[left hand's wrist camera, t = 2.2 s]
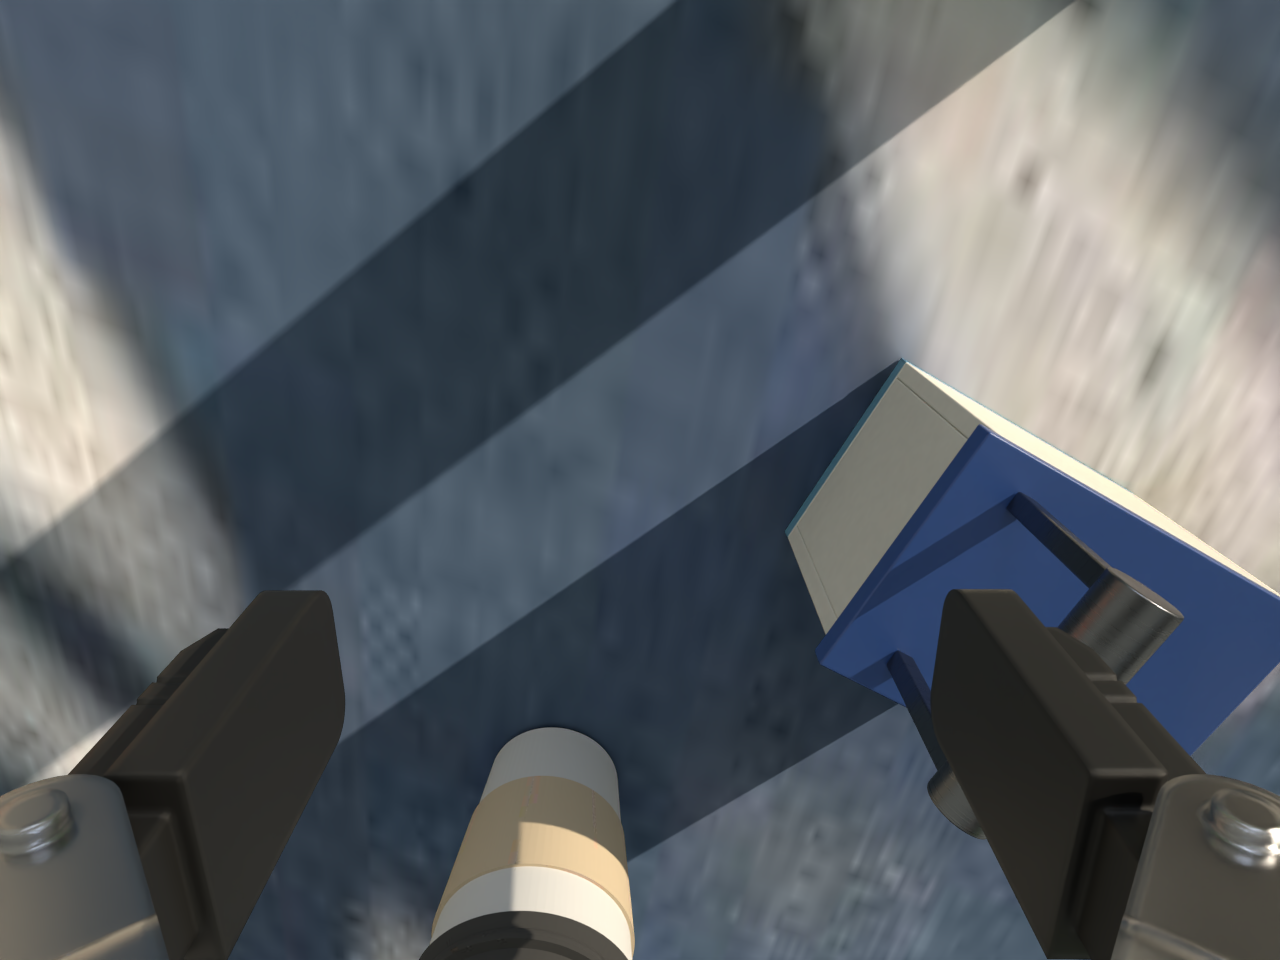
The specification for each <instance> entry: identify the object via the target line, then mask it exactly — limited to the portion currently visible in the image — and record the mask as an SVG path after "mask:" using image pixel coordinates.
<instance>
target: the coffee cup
mask: <svg viewBox="0 0 1280 960" xmlns="http://www.w3.org/2000/svg"><path fill="white" fill-rule="evenodd" d="M431 937H432V939H431V942H430V944H429V947H428V948H427V949H426V950H425V951H424V953H423V954H422V956H421V957H420V959H419V960H632V957H633V953H634V944H635V940H634V929H633V919H632V909H631V899H630V888H629V878H628V868H627V858H626V848H625V838H624V831H623V827H622V824H621V816H620V803H619V791H618V779H617V773H616V769H615V766H614V764H613V761H612V760H611V758H610V756H609V755H608V754H607V752H606V751H605V750H604V749H603V748H602V747H601V746H600V745H599V744H598V743H597V742H595V741H594V740H592V739H591V738H589V737H587V736H585V735H583V734H581V733H579V732H576V731H573V730H569V729H564V728H554V727H549V728H539V729H534V730H530V731H527V732H525V733H522V734H520V735H518V736H516V737H515V738H513V739H512V740H510V741H509V742H508V743H507V744H506V745H505V746H504V747H503V748H502V749H501V750H500V752H499V753H498V755H497V756H496V758H495V761H494V763H493V766H492V769H491V772H490V774H489V777H488V780H487V783H486V786H485V789H484V791H483V794H482V797H481V800H480V803H479V805H478V806H477V807H476V809H475V811H474V813H473V815H472V817H471V820H470V823H469V825H468V828H467V831H466V834H465V836H464V839H463V842H462V844H461V847H460V850H459V853H458V855H457V858H456V861H455V863H454V866H453V869H452V872H451V874H450V877H449V880H448V882H447V885H446V888H445V891H444V893H443V896H442V899H441V901H440V904H439V907H438V910H437V912H436V915H435V918H434V921H433V925H432V935H431Z"/></svg>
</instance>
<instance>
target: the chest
mask: <svg viewBox="0 0 1280 960" xmlns="http://www.w3.org/2000/svg"><path fill="white" fill-rule="evenodd" d="M979 424H982V425H983V426H985V427H987V428H989V429H990V430H992V431H994V432H995V433H997V434H999V435H1001V436H1002V437H1004V438H1006V439H1008V440H1009V441H1011V442H1013V443H1015V444H1016V445H1018V446H1020V447H1021V448H1023V449H1025V450H1027V451H1028V452H1030V453H1032V454H1034V455H1035V456H1037V457H1039V458H1040V459H1042V460H1044V461H1046V462H1047V463H1049V464H1051V465H1053V466H1054V467H1056V468H1058V469H1060V470H1061V471H1063V472H1065V473H1066V474H1068V475H1070V476H1072V477H1073V478H1075V479H1077V480H1079V481H1080V482H1082V483H1084V484H1086V485H1087V486H1089V487H1091V488H1092V489H1094V490H1096V491H1098V492H1099V493H1101V494H1103V495H1105V496H1106V497H1108V498H1110V499H1112V500H1113V501H1115V502H1117V503H1118V504H1120V505H1122V506H1124V507H1125V508H1127V509H1129V510H1131V511H1132V512H1134V513H1136V514H1138V515H1139V516H1141V517H1143V518H1144V519H1146V520H1148V521H1150V522H1151V523H1153V524H1155V525H1157V526H1158V527H1160V528H1162V529H1164V530H1165V531H1167V532H1169V533H1170V534H1172V535H1174V536H1176V537H1177V538H1179V539H1181V540H1183V541H1184V542H1186V543H1188V544H1190V545H1191V546H1193V547H1195V548H1196V549H1198V550H1200V551H1202V552H1203V553H1205V554H1207V555H1209V556H1210V557H1212V558H1214V559H1215V560H1217V561H1219V562H1221V563H1222V564H1224V565H1226V566H1228V567H1229V568H1231V569H1233V570H1235V571H1236V572H1238V573H1240V574H1241V575H1243V576H1245V577H1247V578H1248V579H1250V580H1252V581H1254V582H1255V583H1257V584H1259V585H1261V586H1262V587H1264V588H1266V589H1267V590H1269V591H1271V592H1273V593H1274V594H1276V595H1278V596H1280V594H1278V593H1277V592H1275V591H1274V590H1273V589H1271V588H1270V587H1268V586H1267V585H1265V584H1264V583H1262V582H1261V581H1259V580H1258V579H1257V578H1255V577H1254V576H1252V575H1251V574H1249V573H1248V572H1246V571H1245V570H1243V569H1242V568H1241V567H1239V566H1238V565H1236V564H1235V563H1233V562H1232V561H1230V560H1229V559H1227V558H1226V557H1225V556H1223V555H1222V554H1220V553H1219V552H1217V551H1216V550H1214V549H1213V548H1211V547H1210V546H1208V545H1207V544H1206V543H1204V542H1203V541H1201V540H1200V539H1198V538H1197V537H1195V536H1194V535H1192V534H1191V533H1190V532H1188V531H1187V530H1185V529H1184V528H1182V527H1181V526H1179V525H1178V524H1176V523H1175V522H1174V521H1172V520H1171V519H1169V518H1168V517H1166V516H1165V515H1163V514H1162V513H1160V512H1159V511H1158V510H1156V509H1155V508H1153V507H1152V506H1150V505H1149V504H1147V503H1146V502H1144V501H1143V500H1141V499H1140V498H1139V497H1137V496H1136V495H1135V494H1133V493H1132V492H1130V491H1129V490H1127V489H1126V488H1124V487H1122V486H1121V485H1119V484H1117V483H1115V482H1114V481H1112V480H1110V479H1109V478H1107V477H1105V476H1103V475H1102V474H1100V473H1098V472H1097V471H1095V470H1093V469H1091V468H1090V467H1088V466H1086V465H1085V464H1083V463H1081V462H1079V461H1078V460H1076V459H1074V458H1073V457H1071V456H1069V455H1067V454H1066V453H1064V452H1062V451H1060V450H1059V449H1057V448H1055V447H1054V446H1052V445H1050V444H1048V443H1047V442H1045V441H1043V440H1042V439H1040V438H1038V437H1036V436H1035V435H1033V434H1031V433H1030V432H1028V431H1026V430H1024V429H1023V428H1021V427H1019V426H1018V425H1016V424H1014V423H1012V422H1011V421H1009V420H1007V419H1006V418H1004V417H1002V416H1000V415H999V414H997V413H995V412H993V411H992V410H990V409H988V408H987V407H985V406H983V405H981V404H980V403H978V402H976V401H975V400H973V399H971V398H969V397H968V396H966V395H964V394H963V393H961V392H959V391H957V390H956V389H954V388H952V387H951V386H949V385H947V384H945V383H944V382H942V381H940V380H939V379H937V378H935V377H933V376H932V375H930V374H928V373H926V372H925V371H923V370H921V369H920V368H918V367H916V366H914V365H913V364H911V363H909V362H908V361H906V360H904V359H902V358H901V359H900V361H899V362H898V364H897V365H896V367H895V368H894V370H893V371H892V373H891V374H890V376H889V377H888V379H887V380H886V382H885V383H884V384H883V386H882V387H881V389H880V390H879V392H878V393H877V395H876V396H875V398H874V399H873V401H872V402H871V404H870V405H869V407H868V408H867V410H866V411H865V413H864V414H863V416H862V417H861V419H860V420H859V422H858V423H857V425H856V426H855V428H854V429H853V431H852V432H851V433H850V435H849V436H848V438H847V439H846V441H845V442H844V444H843V445H842V447H841V448H840V450H839V451H838V453H837V454H836V456H835V457H834V459H833V460H832V462H831V463H830V465H829V466H828V468H827V469H826V471H825V472H824V474H823V475H822V477H821V478H820V480H819V481H818V483H817V484H816V485H815V487H814V488H813V490H812V491H811V493H810V494H809V496H808V497H807V499H806V500H805V502H804V503H803V505H802V506H801V508H800V509H799V511H798V512H797V514H796V515H795V517H794V518H793V520H792V521H791V523H790V524H789V526H788V527H787V529H786V530H785V534H786V536H787V538H788V539H789V542H790V544H791V547H792V550H793V552H794V555H795V557H796V560H797V562H798V565H799V568H800V570H801V573H802V575H803V578H804V580H805V583H806V585H807V588H808V591H809V593H810V596H811V598H812V601H813V603H814V606H815V608H816V611H817V614H818V616H819V619H820V621H821V624H822V626H823V629H824V631H825V634H827V632H828V631H829V630H830V628H831V627H832V626H833V624H834V623H835V621H836V620H837V619H838V617H839V616H840V615H841V613H842V612H843V610H844V609H845V608H846V606H847V605H848V603H849V602H850V601H851V599H852V598H853V597H854V595H855V594H856V592H857V591H858V590H859V588H860V587H861V586H862V584H863V583H864V581H865V580H866V579H867V577H868V576H869V575H870V573H871V572H872V570H873V569H874V568H875V566H876V565H877V564H878V562H879V561H880V559H881V558H882V557H883V555H884V554H885V553H886V551H887V550H888V548H889V547H890V546H891V544H892V543H893V541H894V540H895V539H896V537H897V536H898V535H899V533H900V532H901V530H902V529H903V528H904V526H905V525H906V524H907V522H908V521H909V519H910V518H911V517H912V515H913V514H914V513H915V511H916V510H917V508H918V507H919V506H920V504H921V503H922V502H923V500H924V499H925V497H926V496H927V495H928V493H929V492H930V491H931V489H932V488H933V486H934V485H935V484H936V482H937V481H938V479H939V478H940V477H941V475H942V474H943V473H944V471H945V470H946V468H947V467H948V466H949V464H950V463H951V462H952V460H953V459H954V457H955V456H956V455H957V453H958V452H959V451H960V449H961V448H962V446H963V445H964V444H965V442H966V441H967V440H968V438H969V437H970V435H971V434H972V433H973V431H974V430H975V428H976V427H977V426H978V425H979Z"/></svg>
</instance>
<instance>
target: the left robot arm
mask: <svg viewBox="0 0 1280 960" xmlns="http://www.w3.org/2000/svg"><path fill="white" fill-rule="evenodd" d="M930 706H931V717H932V723H933V728H934V732H935V735H936V738H937V741H938V743H939V745H940V747H941V749H942V751H943V753H944V755H945V757H946V759H947V761H948V763H949V765H950V767H951V769H952V771H953V773H954V775H955V777H956V779H957V781H958V783H959V785H960V787H961V789H962V791H963V793H964V795H965V797H966V798H967V800H968V802H969V804H970V806H971V808H972V810H973V812H974V814H975V816H976V818H977V820H978V822H979V824H980V826H981V828H982V830H983V832H984V834H985V836H986V838H987V840H988V842H989V844H990V846H991V848H992V850H993V852H994V854H995V856H996V858H997V860H998V862H999V864H1000V866H1001V868H1002V870H1003V872H1004V874H1005V876H1006V878H1007V880H1008V882H1009V884H1010V886H1011V888H1012V890H1013V892H1014V894H1015V896H1016V898H1017V900H1018V902H1019V904H1020V906H1021V908H1022V910H1023V912H1024V914H1025V916H1026V918H1027V920H1028V922H1029V924H1030V926H1031V928H1032V930H1033V932H1034V934H1035V936H1036V937H1037V939H1038V941H1039V943H1040V945H1041V947H1042V949H1043V951H1044V953H1045V955H1046V957H1047V959H1091V960H1280V796H1278V795H1276V794H1274V793H1272V792H1269V791H1267V790H1265V789H1263V788H1260V787H1257V786H1255V785H1252V784H1249V783H1246V782H1243V781H1240V780H1236V779H1232V778H1227V777H1223V776H1216V775H1208V774H1206V773H1205V772H1204V771H1203V770H1202V769H1201V768H1200V766H1199V765H1198V764H1197V763H1196V762H1195V761H1194V760H1193V759H1192V758H1191V757H1190V755H1189V754H1188V753H1187V752H1186V751H1185V750H1184V749H1183V748H1182V747H1181V746H1180V744H1179V743H1178V742H1177V741H1176V740H1175V739H1174V738H1173V737H1172V736H1171V735H1170V733H1169V732H1168V731H1167V730H1166V729H1165V728H1164V727H1163V726H1162V725H1161V724H1160V722H1159V721H1158V720H1157V719H1156V718H1155V717H1154V716H1153V715H1152V714H1151V712H1150V711H1149V710H1148V709H1147V708H1146V707H1145V706H1144V705H1143V704H1142V703H1137V697H1136V696H1135V695H1134V694H1133V693H1132V692H1131V690H1130V689H1129V688H1128V687H1127V686H1126V685H1125V684H1124V683H1123V682H1122V681H1117V675H1116V674H1115V673H1114V672H1113V671H1112V670H1111V668H1110V667H1109V666H1108V665H1107V664H1106V663H1105V662H1104V661H1103V660H1102V659H1101V657H1100V656H1099V655H1098V654H1097V653H1096V652H1095V651H1094V650H1093V649H1092V648H1090V647H1089V646H1087V645H1085V644H1084V643H1082V642H1080V641H1079V640H1077V639H1075V638H1074V637H1072V636H1070V635H1069V634H1067V633H1065V632H1064V631H1062V630H1061V629H1059V628H1057V627H1045V626H1044V625H1043V624H1042V622H1041V621H1040V620H1039V619H1038V618H1037V617H1036V615H1035V614H1034V613H1033V612H1032V611H1031V609H1030V608H1029V607H1028V606H1027V605H1026V604H1025V602H1024V601H1023V600H1022V599H1021V598H1020V597H1019V595H1018V594H1017V593H1016V592H1015V591H1013V590H1011V589H952V590H950V591H949V592H948V594H947V596H946V598H945V601H944V605H943V610H942V617H941V624H940V631H939V638H938V645H937V652H936V659H935V666H934V673H933V680H932V686H931V697H930ZM344 715H345V692H344V684H343V677H342V671H341V664H340V657H339V650H338V643H337V637H336V630H335V623H334V616H333V610H332V605H331V601H330V599H329V596H328V595H327V593H325V592H324V591H263V592H261V593H260V594H258V595H257V597H256V598H255V599H254V600H253V601H252V602H251V604H250V605H249V606H248V607H247V608H246V609H245V611H244V612H243V613H242V614H241V615H240V616H239V618H238V619H237V620H236V621H235V622H234V623H233V625H232V626H231V627H230V628H229V629H217V630H215V631H213V632H212V633H210V634H208V635H207V636H205V637H203V638H202V639H200V640H199V641H197V642H195V643H194V644H192V645H190V646H189V647H187V648H185V649H184V650H182V651H181V652H180V653H179V654H178V655H177V656H176V657H175V658H174V659H173V660H172V662H171V663H170V664H169V665H168V666H167V667H166V668H165V669H164V670H163V671H162V672H161V674H160V675H159V676H158V677H157V682H156V683H151V685H150V686H149V687H148V688H147V689H146V690H145V691H144V692H143V693H142V694H141V695H140V697H139V698H138V699H137V704H136V705H131V706H130V707H129V709H128V710H127V711H126V712H125V713H124V714H123V715H122V716H121V717H120V718H119V719H118V721H117V722H116V723H115V724H114V725H113V726H112V727H111V728H110V729H109V730H108V731H107V733H106V734H105V735H104V736H103V737H102V738H101V739H100V740H99V741H98V742H97V743H96V745H95V746H94V747H93V748H92V749H91V750H90V751H89V752H88V753H87V754H86V755H85V757H84V758H83V759H82V760H81V761H80V762H79V763H78V764H77V765H76V766H75V767H74V769H73V770H72V771H71V772H70V773H69V774H68V775H64V776H57V777H53V778H48V779H44V780H40V781H37V782H34V783H31V784H28V785H25V786H23V787H20V788H17V789H15V790H13V791H11V792H8V793H6V794H4V795H2V796H0V960H227V959H228V957H229V955H230V953H231V951H232V950H233V948H234V946H235V944H236V942H237V940H238V938H239V936H240V934H241V932H242V930H243V928H244V926H245V924H246V922H247V920H248V918H249V916H250V914H251V912H252V910H253V908H254V906H255V904H256V902H257V900H258V899H259V897H260V895H261V893H262V891H263V889H264V887H265V885H266V883H267V881H268V879H269V877H270V875H271V873H272V871H273V869H274V867H275V865H276V863H277V861H278V859H279V857H280V855H281V853H282V851H283V849H284V848H285V846H286V844H287V842H288V840H289V838H290V836H291V834H292V832H293V830H294V828H295V826H296V824H297V822H298V820H299V818H300V816H301V814H302V812H303V810H304V808H305V806H306V804H307V802H308V800H309V798H310V796H311V795H312V793H313V791H314V789H315V787H316V785H317V783H318V781H319V779H320V777H321V775H322V773H323V771H324V769H325V767H326V765H327V763H328V761H329V759H330V757H331V755H332V753H333V751H334V749H335V747H336V745H337V743H338V741H339V738H340V735H341V732H342V728H343V723H344Z"/></svg>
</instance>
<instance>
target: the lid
mask: <svg viewBox="0 0 1280 960" xmlns="http://www.w3.org/2000/svg"><path fill="white" fill-rule="evenodd" d="M952 589H1011V590H1013V591H1015V592H1016V593H1017V594H1018V595H1019V597H1020V598H1021V599H1022V600H1023V601H1024V602H1025V604H1026V605H1027V606H1028V607H1029V608H1030V609H1031V611H1032V612H1033V613H1034V614H1035V615H1036V617H1037V618H1038V619H1039V620H1040V621H1041V622H1042V624H1043V625H1044V626H1045V627H1057V628H1059V629H1061V630H1062V631H1064V632H1065V633H1067V634H1069V635H1070V636H1072V637H1074V638H1075V639H1077V640H1079V641H1080V642H1082V643H1084V644H1085V645H1087V646H1089V647H1090V648H1092V649H1093V650H1094V651H1095V652H1096V653H1097V654H1098V655H1099V656H1100V657H1101V659H1102V660H1103V661H1104V662H1105V663H1106V664H1107V665H1108V666H1109V667H1110V668H1111V670H1112V671H1113V672H1114V673H1115V674H1116V675H1117V681H1122V682H1123V683H1124V684H1125V685H1126V686H1127V687H1128V688H1129V689H1130V690H1131V692H1132V693H1133V694H1134V695H1135V696H1136V697H1137V703H1142V704H1143V705H1144V706H1145V707H1146V708H1147V709H1148V710H1149V711H1150V712H1151V714H1152V715H1153V716H1154V717H1155V718H1156V719H1157V720H1158V721H1159V722H1160V724H1161V725H1162V726H1163V727H1164V728H1165V729H1166V730H1167V731H1168V732H1169V733H1170V735H1171V736H1172V737H1173V738H1174V739H1175V740H1176V741H1177V742H1178V743H1179V744H1180V746H1181V747H1182V748H1183V749H1184V750H1185V751H1186V752H1187V753H1188V754H1189V755H1190V756H1191V755H1192V754H1193V753H1194V752H1195V751H1196V750H1197V749H1198V747H1199V746H1200V745H1201V744H1202V743H1203V742H1204V741H1205V740H1206V739H1207V738H1208V737H1209V736H1210V735H1211V734H1212V733H1213V732H1214V731H1215V730H1216V729H1217V728H1218V726H1219V725H1220V724H1221V723H1222V722H1223V721H1224V720H1225V719H1226V718H1227V717H1228V716H1229V715H1230V714H1231V713H1232V712H1233V711H1234V710H1235V709H1236V708H1237V707H1238V706H1239V704H1240V703H1241V702H1242V701H1243V700H1244V699H1245V698H1246V697H1247V696H1248V695H1249V694H1250V693H1251V692H1252V691H1253V690H1254V689H1255V688H1256V687H1257V686H1258V685H1259V683H1260V682H1261V681H1262V680H1263V679H1264V678H1265V677H1266V676H1267V675H1268V674H1269V673H1270V672H1271V671H1272V670H1273V669H1274V668H1275V667H1276V666H1277V665H1278V664H1279V663H1280V596H1278V595H1276V594H1274V593H1273V592H1271V591H1269V590H1267V589H1266V588H1264V587H1262V586H1261V585H1259V584H1257V583H1255V582H1254V581H1252V580H1250V579H1248V578H1247V577H1245V576H1243V575H1241V574H1240V573H1238V572H1236V571H1235V570H1233V569H1231V568H1229V567H1228V566H1226V565H1224V564H1222V563H1221V562H1219V561H1217V560H1215V559H1214V558H1212V557H1210V556H1209V555H1207V554H1205V553H1203V552H1202V551H1200V550H1198V549H1196V548H1195V547H1193V546H1191V545H1190V544H1188V543H1186V542H1184V541H1183V540H1181V539H1179V538H1177V537H1176V536H1174V535H1172V534H1170V533H1169V532H1167V531H1165V530H1164V529H1162V528H1160V527H1158V526H1157V525H1155V524H1153V523H1151V522H1150V521H1148V520H1146V519H1144V518H1143V517H1141V516H1139V515H1138V514H1136V513H1134V512H1132V511H1131V510H1129V509H1127V508H1125V507H1124V506H1122V505H1120V504H1118V503H1117V502H1115V501H1113V500H1112V499H1110V498H1108V497H1106V496H1105V495H1103V494H1101V493H1099V492H1098V491H1096V490H1094V489H1092V488H1091V487H1089V486H1087V485H1086V484H1084V483H1082V482H1080V481H1079V480H1077V479H1075V478H1073V477H1072V476H1070V475H1068V474H1066V473H1065V472H1063V471H1061V470H1060V469H1058V468H1056V467H1054V466H1053V465H1051V464H1049V463H1047V462H1046V461H1044V460H1042V459H1040V458H1039V457H1037V456H1035V455H1034V454H1032V453H1030V452H1028V451H1027V450H1025V449H1023V448H1021V447H1020V446H1018V445H1016V444H1015V443H1013V442H1011V441H1009V440H1008V439H1006V438H1004V437H1002V436H1001V435H999V434H997V433H995V432H994V431H992V430H990V429H989V428H987V427H985V426H983V425H982V424H979V425H978V426H977V427H976V428H975V430H974V431H973V433H972V434H971V435H970V437H969V438H968V440H967V441H966V442H965V444H964V445H963V446H962V448H961V449H960V451H959V452H958V453H957V455H956V456H955V457H954V459H953V460H952V462H951V463H950V464H949V466H948V467H947V468H946V470H945V471H944V473H943V474H942V475H941V477H940V478H939V479H938V481H937V482H936V484H935V485H934V486H933V488H932V489H931V491H930V492H929V493H928V495H927V496H926V497H925V499H924V500H923V502H922V503H921V504H920V506H919V507H918V508H917V510H916V511H915V513H914V514H913V515H912V517H911V518H910V519H909V521H908V522H907V524H906V525H905V526H904V528H903V529H902V530H901V532H900V533H899V535H898V536H897V537H896V539H895V540H894V541H893V543H892V544H891V546H890V547H889V548H888V550H887V551H886V553H885V554H884V555H883V557H882V558H881V559H880V561H879V562H878V564H877V565H876V566H875V568H874V569H873V570H872V572H871V573H870V575H869V576H868V577H867V579H866V580H865V581H864V583H863V584H862V586H861V587H860V588H859V590H858V591H857V592H856V594H855V595H854V597H853V598H852V599H851V601H850V602H849V603H848V605H847V606H846V608H845V609H844V610H843V612H842V613H841V615H840V616H839V617H838V619H837V620H836V621H835V623H834V624H833V626H832V627H831V628H830V630H829V631H828V632H827V634H826V635H825V637H824V638H823V639H822V641H821V642H820V643H819V645H818V646H817V648H816V649H815V653H816V656H817V658H818V661H819V664H820V665H822V666H824V667H826V668H828V669H830V670H832V671H834V672H836V673H838V674H840V675H842V676H844V677H846V678H848V679H850V680H852V681H854V682H856V683H858V684H860V685H862V686H864V687H866V688H868V689H870V690H872V691H874V692H876V693H878V694H880V695H882V696H884V697H886V698H888V699H890V700H892V701H894V702H896V703H898V704H900V705H902V706H904V707H906V708H907V709H908V711H909V713H910V715H911V717H912V719H913V721H914V723H915V725H916V727H917V729H918V731H919V733H920V735H921V738H922V740H923V742H924V744H925V746H926V748H927V750H928V752H929V754H930V756H931V758H932V760H933V762H934V764H935V766H936V768H937V770H938V771H937V772H936V773H935V775H934V776H933V777H932V778H931V779H930V781H929V782H928V785H927V790H928V793H929V796H930V798H931V799H932V801H933V803H934V804H935V805H936V807H937V808H938V809H939V810H940V812H941V813H942V814H943V815H944V816H945V817H946V818H947V819H948V820H949V821H950V822H952V823H953V824H954V825H955V826H957V827H958V828H959V829H961V830H962V831H964V832H965V833H967V834H969V835H971V836H973V837H975V838H978V839H987V838H986V836H985V834H984V832H983V830H982V828H981V826H980V824H979V822H978V820H977V818H976V816H975V814H974V812H973V810H972V808H971V806H970V804H969V802H968V800H967V798H966V797H965V795H964V793H963V791H962V789H961V787H960V785H959V783H958V781H957V779H956V777H955V775H954V773H953V771H952V769H951V767H950V765H949V763H948V761H947V759H946V757H945V755H944V753H943V751H942V749H941V747H940V745H939V743H938V741H937V738H936V735H935V732H934V728H933V723H932V717H931V706H930V697H931V686H932V680H933V673H934V666H935V659H936V652H937V645H938V638H939V631H940V624H941V617H942V610H943V605H944V601H945V598H946V596H947V594H948V592H949V591H950V590H952Z"/></svg>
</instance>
